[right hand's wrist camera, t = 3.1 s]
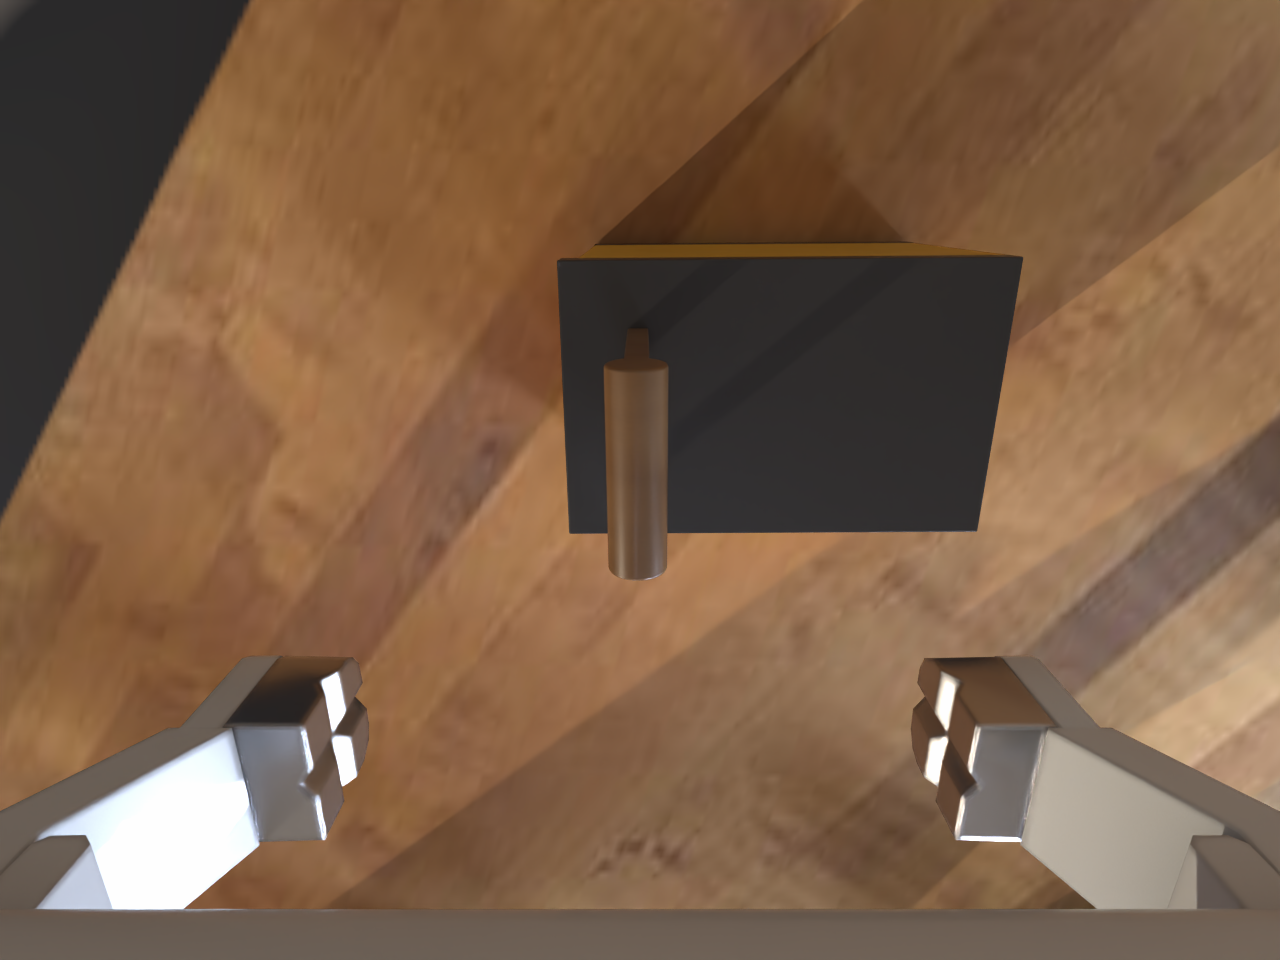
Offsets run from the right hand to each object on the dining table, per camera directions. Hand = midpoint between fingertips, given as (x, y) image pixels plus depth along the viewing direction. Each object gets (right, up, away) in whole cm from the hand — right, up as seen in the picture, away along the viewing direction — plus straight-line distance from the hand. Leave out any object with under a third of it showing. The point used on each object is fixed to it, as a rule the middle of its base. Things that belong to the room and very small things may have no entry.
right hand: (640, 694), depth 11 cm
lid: (+5, +6, +16) cm, 18 cm away
